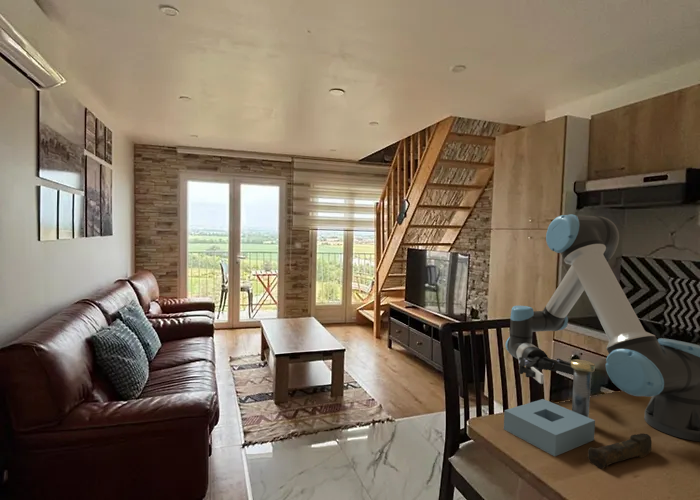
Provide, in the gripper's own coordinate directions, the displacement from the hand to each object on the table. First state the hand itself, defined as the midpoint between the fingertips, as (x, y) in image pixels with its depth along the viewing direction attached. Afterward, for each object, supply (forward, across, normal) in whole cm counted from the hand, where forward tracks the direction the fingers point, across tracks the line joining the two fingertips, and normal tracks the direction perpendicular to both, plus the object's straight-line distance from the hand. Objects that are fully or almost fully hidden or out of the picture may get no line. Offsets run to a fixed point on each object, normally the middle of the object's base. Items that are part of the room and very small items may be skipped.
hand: (565, 379), depth 113 cm
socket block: (+15, +12, -9) cm, 21 cm away
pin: (+8, 0, -9) cm, 12 cm away
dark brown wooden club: (+24, 0, -9) cm, 26 cm away
